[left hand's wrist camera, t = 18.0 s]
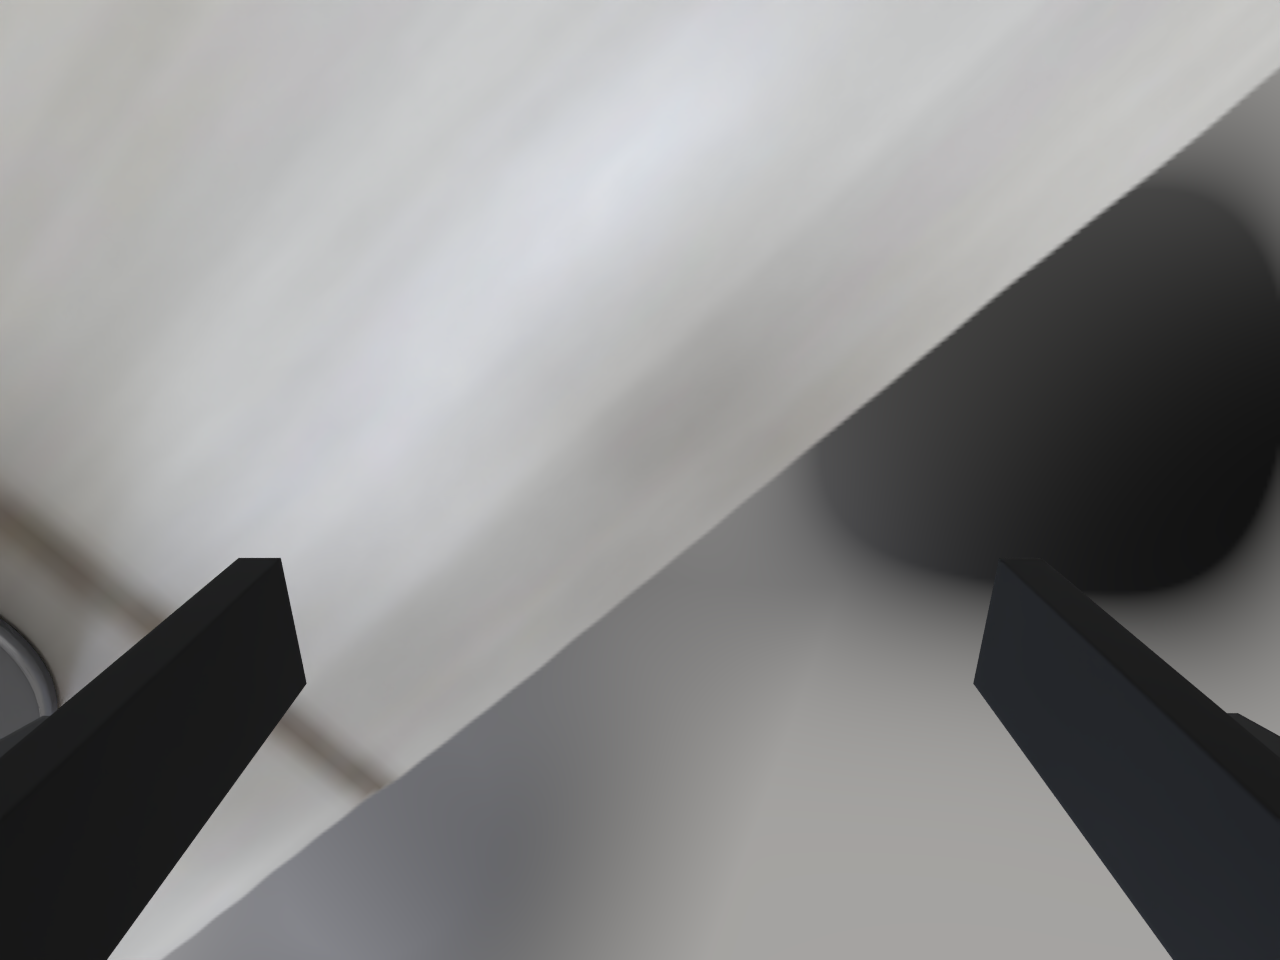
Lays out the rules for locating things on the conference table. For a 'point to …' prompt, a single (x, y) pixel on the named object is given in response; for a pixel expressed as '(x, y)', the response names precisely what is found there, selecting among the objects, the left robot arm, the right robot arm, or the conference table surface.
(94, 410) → the conference table surface
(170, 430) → the conference table surface
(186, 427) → the conference table surface
